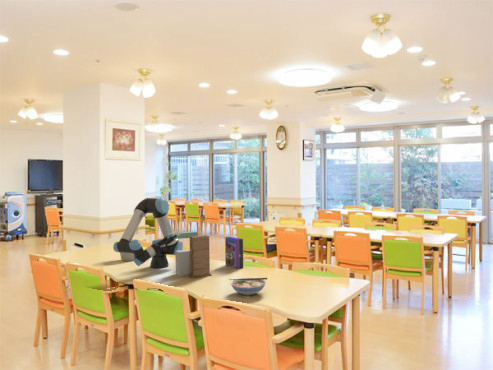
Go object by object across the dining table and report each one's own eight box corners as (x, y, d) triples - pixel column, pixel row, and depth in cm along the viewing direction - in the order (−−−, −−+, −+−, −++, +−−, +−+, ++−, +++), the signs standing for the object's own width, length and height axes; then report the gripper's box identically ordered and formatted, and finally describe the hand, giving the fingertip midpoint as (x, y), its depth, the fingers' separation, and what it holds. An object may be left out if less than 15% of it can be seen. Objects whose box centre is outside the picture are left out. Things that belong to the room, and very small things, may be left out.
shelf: (175, 273, 313) (175, 250, 312) (199, 270, 323) (199, 248, 323) (179, 276, 306) (179, 252, 306) (203, 272, 316) (203, 249, 316)
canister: (120, 263, 356) (120, 239, 355) (116, 259, 371) (116, 236, 371) (141, 260, 364) (141, 237, 364) (136, 257, 380) (135, 235, 380)
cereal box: (225, 265, 341) (225, 237, 340) (230, 264, 344) (229, 236, 343) (238, 268, 328) (238, 239, 327) (243, 267, 331) (242, 238, 330)
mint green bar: (166, 239, 307) (166, 233, 306) (196, 236, 319) (196, 231, 319) (168, 239, 303) (168, 234, 303) (198, 237, 315) (198, 232, 315)
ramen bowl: (227, 299, 246) (227, 286, 246) (229, 289, 269) (229, 276, 269) (269, 299, 246) (268, 285, 246) (266, 288, 269) (266, 276, 269)
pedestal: (188, 275, 306) (187, 236, 306) (206, 273, 314) (205, 234, 313) (193, 278, 299) (192, 237, 298) (211, 275, 306) (210, 236, 306)
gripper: (152, 252, 307) (177, 235, 318) (159, 256, 293) (185, 237, 303) (147, 244, 305) (172, 227, 316) (154, 247, 291) (180, 229, 301)
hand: (178, 232), depth 309 cm, fingers closed on mint green bar, 4 cm apart
